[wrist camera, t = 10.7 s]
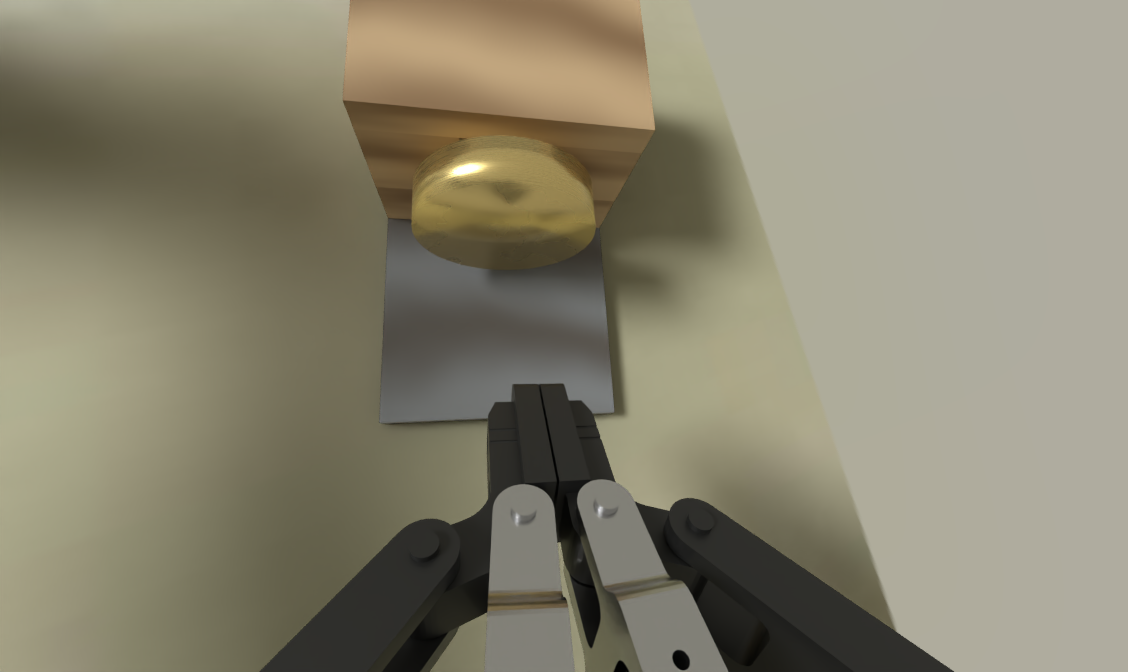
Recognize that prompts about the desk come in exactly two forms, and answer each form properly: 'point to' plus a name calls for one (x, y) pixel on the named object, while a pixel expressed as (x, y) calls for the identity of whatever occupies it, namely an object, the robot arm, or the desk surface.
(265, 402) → the desk surface
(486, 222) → the shaft
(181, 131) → the desk surface
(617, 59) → the bearing block
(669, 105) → the desk surface
